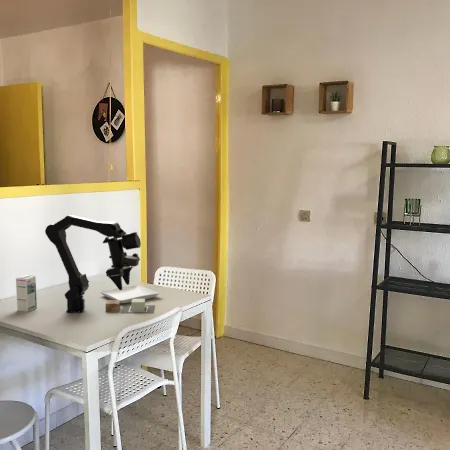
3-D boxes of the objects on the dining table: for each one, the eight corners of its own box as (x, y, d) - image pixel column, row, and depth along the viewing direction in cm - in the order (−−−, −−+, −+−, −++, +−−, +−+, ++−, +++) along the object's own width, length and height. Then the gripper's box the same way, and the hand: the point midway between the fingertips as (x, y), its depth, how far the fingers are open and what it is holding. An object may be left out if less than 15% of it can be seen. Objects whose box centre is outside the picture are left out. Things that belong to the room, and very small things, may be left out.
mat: (120, 314, 206) (120, 313, 206) (123, 306, 218) (123, 305, 218) (153, 314, 207) (153, 313, 207) (155, 306, 219) (155, 305, 219)
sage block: (131, 311, 209) (131, 302, 209) (132, 307, 215) (132, 298, 214) (144, 311, 210) (144, 302, 209) (145, 307, 215) (145, 298, 215)
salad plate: (98, 297, 233) (98, 290, 232) (137, 290, 247) (137, 283, 246) (120, 307, 217) (120, 300, 216) (160, 299, 231) (160, 292, 230)
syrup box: (27, 312, 206) (26, 278, 205) (16, 310, 208) (15, 277, 207) (37, 308, 212) (36, 276, 210) (26, 306, 214) (25, 274, 212)
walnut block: (105, 312, 208) (105, 303, 208) (107, 308, 214) (107, 300, 213) (118, 312, 209) (118, 303, 209) (120, 308, 214) (120, 300, 214)
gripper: (127, 252, 194) (136, 289, 196) (141, 244, 213) (148, 279, 214) (101, 257, 196) (110, 294, 197) (117, 249, 214) (124, 283, 216)
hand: (124, 287), depth 206 cm, fingers open, 9 cm apart
